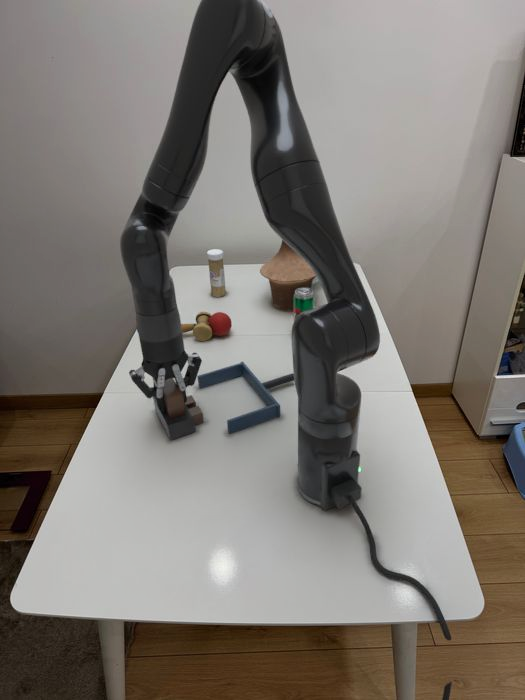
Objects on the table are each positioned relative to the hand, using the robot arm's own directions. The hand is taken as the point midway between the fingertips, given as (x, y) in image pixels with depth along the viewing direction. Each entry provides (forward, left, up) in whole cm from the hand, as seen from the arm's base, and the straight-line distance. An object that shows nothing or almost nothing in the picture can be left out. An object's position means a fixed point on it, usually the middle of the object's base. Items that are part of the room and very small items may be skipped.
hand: (172, 406), depth 95 cm
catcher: (0, -18, -4) cm, 18 cm away
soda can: (+17, -39, -4) cm, 43 cm away
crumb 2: (-2, -4, -4) cm, 6 cm away
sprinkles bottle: (+50, -29, -4) cm, 58 cm away
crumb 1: (+2, -4, -4) cm, 6 cm away
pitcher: (+34, -45, -4) cm, 57 cm away
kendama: (+30, -15, -4) cm, 34 cm away
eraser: (0, 0, -4) cm, 4 cm away
